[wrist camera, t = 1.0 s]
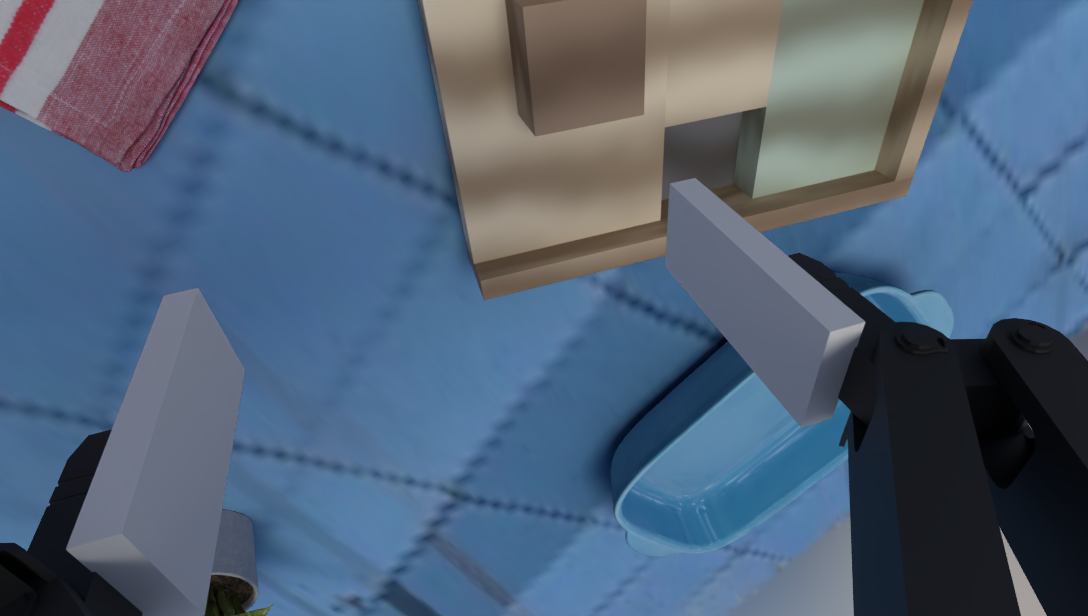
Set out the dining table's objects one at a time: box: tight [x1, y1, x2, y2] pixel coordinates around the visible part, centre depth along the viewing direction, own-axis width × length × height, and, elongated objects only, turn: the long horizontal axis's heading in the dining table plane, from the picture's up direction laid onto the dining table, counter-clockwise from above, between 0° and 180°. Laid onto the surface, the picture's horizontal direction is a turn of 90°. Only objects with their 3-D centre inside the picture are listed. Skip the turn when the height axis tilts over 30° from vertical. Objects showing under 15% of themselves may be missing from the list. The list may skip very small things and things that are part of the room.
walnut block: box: [505, 0, 647, 137], centre depth 29 cm, size 6×6×4 cm
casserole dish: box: [611, 273, 954, 557], centre depth 57 cm, size 37×22×7 cm, turn 135°
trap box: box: [417, 0, 973, 300], centre depth 33 cm, size 27×32×5 cm
